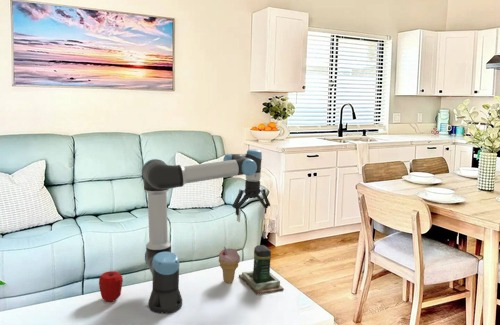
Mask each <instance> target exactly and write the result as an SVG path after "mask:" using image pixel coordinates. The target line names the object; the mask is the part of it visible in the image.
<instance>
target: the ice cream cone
mask: <svg viewBox="0 0 500 325" xmlns="http://www.w3.org/2000/svg"><path fill="white" fill-rule="evenodd" d="M238 251H240V249H237V248H236V249H235V248H229V247H228V248H226V247H223V249H222V250H221V251H220V252H219V254H218V262H219V267H220V268H221V271H222V280H223V282H224V283H225V284H232V283H233V282H234V281H235V280H234V279H235V273H236V270H237V268H238V267H239V263H240V262H241V257H240V255H239V253H238Z"/></svg>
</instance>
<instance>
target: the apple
mask: <svg viewBox="0 0 500 325" xmlns="http://www.w3.org/2000/svg"><path fill="white" fill-rule="evenodd" d="M123 281H124V280H123V276H122V274H121V273H120V272H118V271H115V270H114V271H113V270H112V271H111V270H110V271H106V272H103V273H102V274H101V275H100V276H99V279H98V287H99V292H100V296H101V299H103V300H104V301H105V302H106V303H112V302H115V301H116V300H118V299H119V297H121V294H122V288H123V283H124V282H123Z"/></svg>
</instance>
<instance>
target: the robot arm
mask: <svg viewBox="0 0 500 325" xmlns="http://www.w3.org/2000/svg"><path fill="white" fill-rule="evenodd" d="M262 156H263V154H262V151H261V150H260V149H253V148H252V149H247V151H246V153H228V154H227V153H226V154H225V155H224V156H223V160H221V161H215V162H214V161H213V162H207V163H200V164H193V165H186V166H182V165H180V164H178V165H177V164H176V165H174V164H173V165H171V164H167V163H166V162H165V161H163V160H161V159H158V158H152V159H148V161H146V162H145V163H144V164H143V165H142V168H141V176H142V178H143V190H144V191H145V192H146V193H147V211H148V212H147V213H148V242H147V244H145V247H146V248H145V253H144V261H145V264H146V266H147V267H148V270H149V271H150V273H151V275H152V290H151V293H150V296H149V299H148V304H147V305H148V309H149V310H150V311H151V312H154V313H156V314H170V313H171V314H172V313H175V312H177V311H179V310H180V309H182V307H183V297H182V294H181V292H180V289H179V288H180V287H179V284H180V277H179V276H180V260H179V258H180V257H179V256H178V255H177V254H176V253H174V252H172V242H171V241H169V238H168V236H169V235H168V234H169V233H168V231H169V230H168V203H167V202H168V200H167V199H168V198H167V193H168V191H169V190H170V189H176V188H182V187H184V185H186V184H191V183H198V182H203V181H210V180H211V181H212V180H216V179H224V178H229V177H230V178H231V177H235V176H243V175H245V186H244V187H245V188H244V189H239V190H238V194H237V195H236V198H235V200H234V201H233V204H232V208H233V209H235V216H236V221H237V222H238V223H240V222H241V214H242V213H241V207H242V206H244V204H245V203H246V201H247V200H248V199H256V198H257V200H258V201H259V203H260V204H261V205H262V206H261V211H260V212H261V213H260V219H261V220H262V221H265V217H266V216H265V215H266V214H267V209H268V208H269V207H271V203H270V201H269V198H268V196H267V194H266V189H265V188H264V187H263V188H260V187H261V173H262V171H261V170H262V160H263V159H262V158H263V157H262ZM260 193H261V195H262V197H263V199H262V197H261V196H260V195H259V194H260Z"/></svg>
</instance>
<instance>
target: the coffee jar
mask: <svg viewBox="0 0 500 325" xmlns="http://www.w3.org/2000/svg"><path fill="white" fill-rule="evenodd" d="M253 249H254V250H253V270H252V271H253V280H254V282H255V283H256V284H258V283H264V282H269V280H270V273H271V258H272V250H271V249H270V248H269V247H267V246H266V245H264V244H259V245H256V246H255V247H254V248H253Z"/></svg>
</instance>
